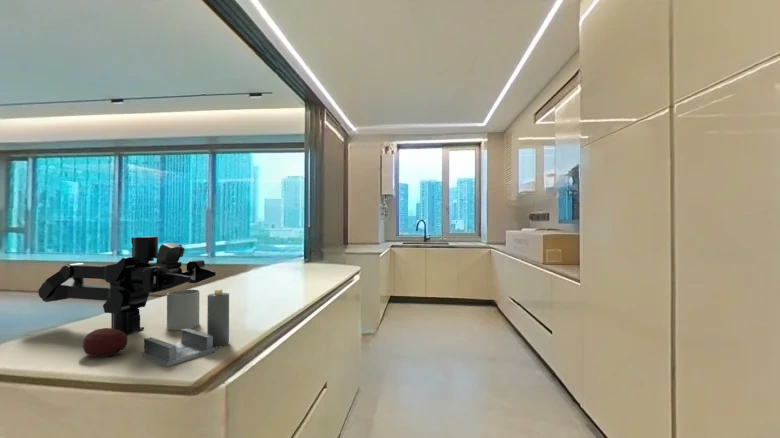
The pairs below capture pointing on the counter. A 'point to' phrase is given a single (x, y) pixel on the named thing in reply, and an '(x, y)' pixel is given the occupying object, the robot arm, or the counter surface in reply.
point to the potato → (104, 342)
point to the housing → (178, 348)
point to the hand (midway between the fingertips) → (203, 276)
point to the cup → (182, 309)
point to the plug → (218, 318)
